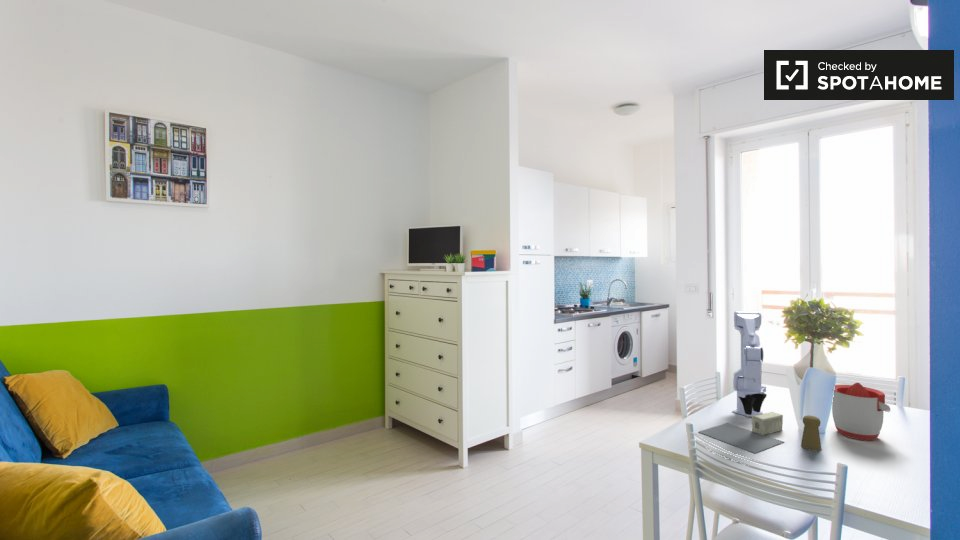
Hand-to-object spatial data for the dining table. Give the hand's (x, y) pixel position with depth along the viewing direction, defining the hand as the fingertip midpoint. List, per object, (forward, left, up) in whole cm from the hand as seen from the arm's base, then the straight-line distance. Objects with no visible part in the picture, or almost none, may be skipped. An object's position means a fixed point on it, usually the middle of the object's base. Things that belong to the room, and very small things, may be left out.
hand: (752, 412), depth 180 cm
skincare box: (0, +2, -4) cm, 5 cm away
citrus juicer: (-31, +22, -8) cm, 39 cm away
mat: (+8, 0, -8) cm, 11 cm away
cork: (-5, +18, -8) cm, 20 cm away
